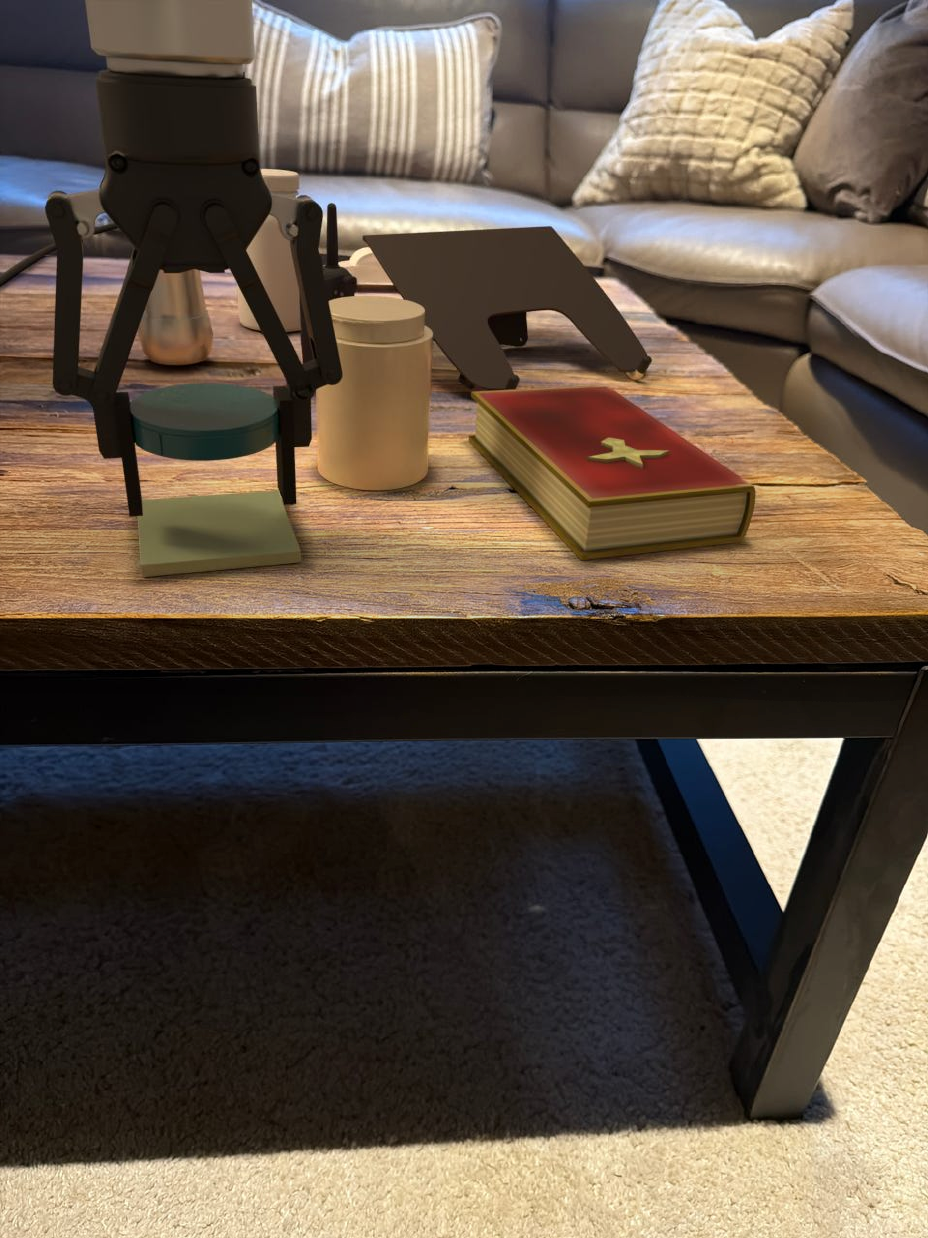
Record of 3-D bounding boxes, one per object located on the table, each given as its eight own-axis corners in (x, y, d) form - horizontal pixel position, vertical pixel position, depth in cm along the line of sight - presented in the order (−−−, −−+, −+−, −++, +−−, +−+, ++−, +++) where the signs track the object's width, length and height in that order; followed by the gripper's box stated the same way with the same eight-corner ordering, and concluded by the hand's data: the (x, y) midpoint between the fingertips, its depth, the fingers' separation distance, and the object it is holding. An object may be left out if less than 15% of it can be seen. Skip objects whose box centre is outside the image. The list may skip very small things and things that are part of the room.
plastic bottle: (230, 362, 90) (213, 124, 79) (173, 378, 85) (148, 126, 74) (183, 348, 92) (161, 117, 82) (126, 363, 88) (95, 118, 77)
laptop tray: (451, 460, 87) (482, 385, 80) (346, 295, 96) (366, 214, 89) (637, 424, 99) (679, 356, 92) (528, 280, 108) (558, 207, 101)
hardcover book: (603, 430, 79) (610, 380, 77) (746, 541, 62) (760, 481, 60) (468, 440, 76) (471, 388, 73) (581, 560, 59) (589, 497, 57)
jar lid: (225, 472, 51) (222, 441, 50) (99, 442, 53) (95, 412, 52) (306, 426, 57) (305, 398, 56) (191, 401, 60) (189, 374, 59)
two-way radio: (333, 373, 88) (331, 199, 81) (372, 383, 87) (373, 205, 79) (294, 387, 84) (288, 204, 77) (334, 398, 82) (331, 212, 75)
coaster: (137, 511, 61) (136, 500, 61) (278, 501, 64) (278, 489, 63) (142, 577, 54) (140, 565, 53) (301, 562, 56) (300, 550, 56)
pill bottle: (328, 322, 104) (326, 172, 96) (287, 338, 98) (281, 178, 90) (267, 311, 107) (261, 164, 99) (223, 326, 100) (212, 170, 93)
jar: (317, 448, 72) (314, 291, 66) (422, 448, 73) (428, 295, 67) (317, 490, 65) (313, 320, 60) (433, 490, 67) (440, 324, 61)
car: (409, 281, 124) (410, 243, 122) (421, 292, 119) (422, 253, 117) (317, 282, 121) (316, 243, 118) (326, 293, 116) (325, 253, 113)
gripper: (371, 76, 52) (369, 466, 64) (-56, 52, 46) (29, 488, 58) (407, 83, 46) (397, 513, 58) (-80, 57, 40) (20, 543, 51)
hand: (213, 500), depth 58 cm, fingers closed on jar lid, 8 cm apart
